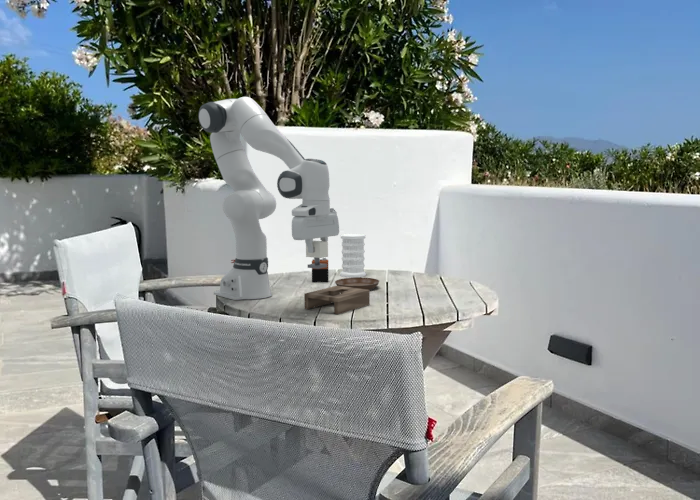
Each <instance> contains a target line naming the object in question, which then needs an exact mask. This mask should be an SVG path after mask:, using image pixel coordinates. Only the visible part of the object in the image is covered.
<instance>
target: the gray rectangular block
mask: <svg viewBox="0 0 700 500" xmlns="http://www.w3.org/2000/svg"><path fill="white" fill-rule="evenodd" d="M312 245H313V247H315V252H314V253H309V252H308V247H307V245H306V244H305V257H306V258H313V259H314V258H315V263H314V264H312V263H309V264H307V269H312V268H315V269H320V268H325V267H327V264H321V263H320V259H322V258H329V240H328V241H322V240H313V242H312Z"/></svg>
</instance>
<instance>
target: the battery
mask: <svg viewBox="0 0 700 500" xmlns="http://www.w3.org/2000/svg"><path fill="white" fill-rule="evenodd" d="M314 263H315V258H314V257H313V259H312V260H311V264H314ZM320 263H321V264H327V267H325V268H320V269H315V268H311V282H312V283H328V282H329V259H328V258H327V257H324V258H320Z"/></svg>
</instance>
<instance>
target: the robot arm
mask: <svg viewBox="0 0 700 500" xmlns="http://www.w3.org/2000/svg"><path fill="white" fill-rule="evenodd" d="M197 115H198V117H197V118H198V121H199V124H200V126H201V128H202V129H203V130H204V131H205V132H207V133H210V135H209V140H210V145H211V146H210V147H211V149H212V154H213V156H214V160H215V163H216V164H217V167H218V170H219V172H220V174H221V177H222V179H223V181H224V182H225V183H226V184H227V185H228V186H230V188H231V189H232V190H233V192H231V193H229V194H227V195H226V196H225V198H224V199H223V201H222V210H223V214H224V215H225V216H226V217H227V218H228V219H229V221H230V223H231V226H232V229H233V232H234V237H235V250H236V251H235V253H236V257H235V259H231V260H230V261H231V262H230V263H231V264H233V266H232V267H233V268H231V270H229V271H228V272H227V273H225V274H224V275H223V276H222V277H221V279H220V283H219V289H217V290H216V291H214V292H213V295H215V296H218V297H221V298H226V299H229V300H234V301H237V300H239V301H240V300H259V299H265V298H271V296H273V294H272V289H271V284H270V277H269V271H268V268H269V258H268V252H267V250H268V248H267V247H268V246H267V244H268V243H267V236H266V234H265V233H264V232H263V230H262V227H261V224H260V220H263V219H266V218H267V217H269V216H271V215H272V214H273V213H274V212H275V211H276V208H277V201H276V198H275V195H274V194H273V193H272V192H270V191H268V190H267V188H266V187H265V185H264V184H263V183H262V181H261V180H260V178H259V177H258V175H257V174H256V173H255V171H254V169H253V166H252V165H251V163H250V159H249V157H248V155H247V153H246V150H245V149H244V146H243V143H242V142H241V139H240V137H241V136H242V137H243V139H244V141H245V142H246V143H247V144H248V145H249V146H250V147H251V148H252V149H253V150H257V151H260V152H263V153H265V154H266V153H267V154H270V155H272V156H275V157H276V158H279V159H280V160H281V161H282V162H283V163H284V164H285V165H286V166H287V168H288V169H287V170H283V171H282V172H281V173H280V174H279V175H278V178H277V181H276V187H277V190H278V192H279V194H280V196H281V197H283V198H284V199H289V200H301V199H302V200H301V201H302V203H301V204H299V205H298V206H296V207H294V208H293V209H291V216H292V219H291V236H292V239H293V240H294V241H304V243H305V246H306V245H307V247H308V252H309V253H314V252H315V247H313V245H312V242H313V241H314V239H315V240H316V239H320V240H319V241H328V242H329V237H338V235H339V234H340V223H339V218H338V215H337V214H338V212H337V211H336V209H334V207H332V208H330V207H331V206H330V205H331V203H330V201H331V198H330V195H329V190H330V172H329V167H328V164H327V163H326V162H325V160H322V159H316V158H305V157H304V156H303V155H302V154H301V152H299V150H298V149H297V147H295V145H294V144H293V143H292V142H291V141H290V140H289V139H288V137H286V136H285V135H284V134H283V133H282V132H281V131H280V130H279V129H278V127H277V126H276V125H275V124H274V122H273V121H272V120H271V119H270V117H269V115H268V114H267V113H266V112H265V111H264V109H263V108H262V107H261V106H260V104H258V102H256V101H255V100H254V99H253V98H251V97H250V96H242V97H239V98H226V99H222V100H218V101H217V100H216V101H209V102H206V103H204V104H202V105H201V106H200V108H199V110H198V114H197Z"/></svg>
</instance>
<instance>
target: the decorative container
mask: <svg viewBox="0 0 700 500" xmlns="http://www.w3.org/2000/svg"><path fill="white" fill-rule="evenodd" d="M340 239H342V242H341V246H342V249H341V254H342V256H341V262H342V263H341V269H342V271H340V273H339V275H340V277H343V278H357V277H362V278H365V277H366V276H367V271H365V270H364V268H365V263H364V262H365V248H364V247H365V239H366V234H364V233H363V234H361V233H360V234H359V233H345V234H341V235H340Z"/></svg>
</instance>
